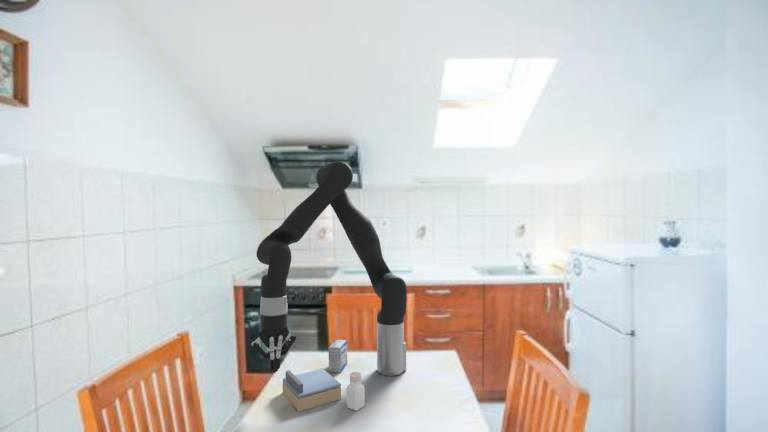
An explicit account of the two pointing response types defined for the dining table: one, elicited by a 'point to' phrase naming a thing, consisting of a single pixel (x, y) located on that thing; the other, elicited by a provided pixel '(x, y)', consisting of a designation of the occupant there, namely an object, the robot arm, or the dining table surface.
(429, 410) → the dining table surface
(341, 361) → the medicine box
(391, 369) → the robot arm
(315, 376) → the lid
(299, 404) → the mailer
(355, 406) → the pepper shaker
